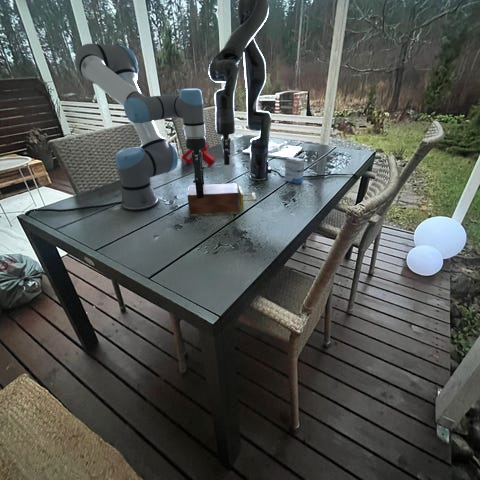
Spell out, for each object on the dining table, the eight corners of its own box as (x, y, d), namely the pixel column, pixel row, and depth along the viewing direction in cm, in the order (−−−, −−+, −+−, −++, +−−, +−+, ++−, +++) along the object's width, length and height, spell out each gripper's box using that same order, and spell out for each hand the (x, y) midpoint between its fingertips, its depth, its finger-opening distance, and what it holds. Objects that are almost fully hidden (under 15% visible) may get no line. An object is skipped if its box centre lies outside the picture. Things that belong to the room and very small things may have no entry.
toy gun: (219, 159, 165) (203, 138, 161) (216, 161, 162) (200, 139, 158) (199, 174, 175) (184, 155, 171) (196, 176, 172) (181, 156, 168)
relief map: (291, 159, 177) (291, 151, 174) (243, 153, 190) (243, 145, 187) (302, 149, 197) (303, 142, 194) (258, 144, 211) (258, 137, 208)
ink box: (302, 181, 142) (305, 159, 136) (297, 184, 139) (300, 161, 133) (289, 177, 147) (291, 156, 141) (284, 180, 144) (285, 158, 138)
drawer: (254, 200, 121) (254, 185, 117) (257, 209, 113) (258, 193, 109) (198, 203, 119) (196, 187, 115) (197, 213, 111) (196, 196, 107)
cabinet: (236, 203, 121) (236, 183, 116) (238, 213, 112) (238, 192, 107) (191, 205, 120) (188, 185, 115) (189, 216, 111) (187, 195, 106)
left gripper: (187, 130, 110) (192, 181, 121) (182, 145, 89) (189, 204, 100) (205, 130, 110) (209, 180, 122) (205, 144, 89) (210, 203, 101)
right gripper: (215, 117, 112) (216, 157, 120) (215, 123, 100) (217, 167, 108) (233, 117, 112) (233, 156, 121) (236, 123, 100) (236, 166, 109)
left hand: (200, 191), depth 111 cm, fingers open, 13 cm apart
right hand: (226, 161), depth 115 cm, fingers open, 8 cm apart
